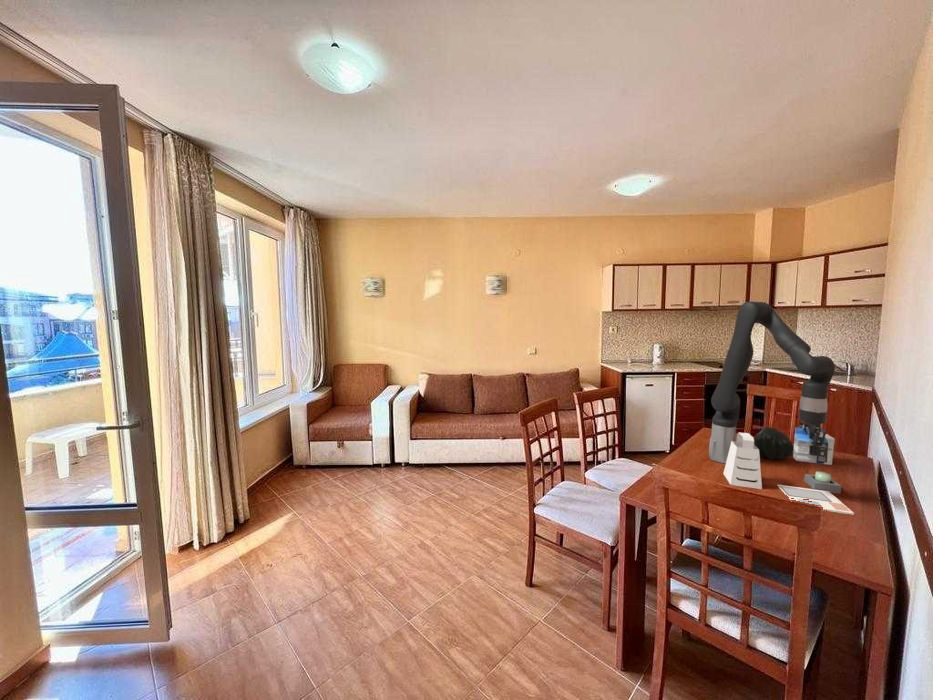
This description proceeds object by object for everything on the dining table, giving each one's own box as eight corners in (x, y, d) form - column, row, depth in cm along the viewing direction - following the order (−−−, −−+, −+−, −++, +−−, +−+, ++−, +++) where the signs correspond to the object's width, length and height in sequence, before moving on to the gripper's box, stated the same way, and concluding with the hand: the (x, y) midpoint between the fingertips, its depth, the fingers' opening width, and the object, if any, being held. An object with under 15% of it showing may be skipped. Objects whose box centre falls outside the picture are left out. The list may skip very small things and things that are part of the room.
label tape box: (796, 461, 139) (798, 430, 137) (792, 457, 142) (794, 427, 141) (827, 465, 135) (830, 433, 133) (822, 460, 138) (825, 429, 137)
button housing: (814, 489, 143) (814, 482, 143) (804, 480, 151) (805, 473, 150) (840, 493, 140) (841, 486, 140) (829, 484, 148) (829, 477, 147)
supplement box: (811, 463, 167) (814, 436, 166) (803, 456, 174) (806, 431, 172) (832, 465, 164) (835, 438, 163) (823, 459, 171) (826, 433, 170)
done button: (818, 484, 144) (819, 475, 144) (812, 480, 148) (813, 470, 148) (832, 486, 142) (833, 477, 142) (826, 481, 147) (827, 472, 146)
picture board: (796, 506, 132) (796, 504, 132) (777, 485, 147) (777, 484, 147) (854, 514, 126) (854, 513, 126) (828, 492, 141) (828, 491, 141)
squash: (805, 454, 163) (790, 423, 172) (768, 454, 166) (755, 423, 174) (787, 464, 175) (774, 435, 183) (753, 464, 177) (741, 434, 186)
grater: (752, 477, 154) (756, 432, 152) (761, 489, 144) (766, 441, 142) (723, 473, 158) (726, 429, 156) (730, 484, 148) (734, 437, 146)
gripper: (791, 403, 144) (788, 445, 146) (810, 413, 131) (807, 458, 133) (815, 404, 141) (812, 447, 143) (837, 414, 128) (833, 461, 130)
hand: (809, 452), depth 138 cm, fingers closed on label tape box, 4 cm apart
